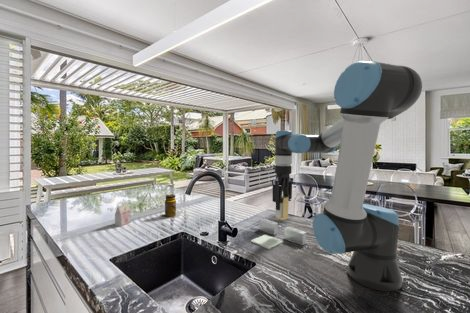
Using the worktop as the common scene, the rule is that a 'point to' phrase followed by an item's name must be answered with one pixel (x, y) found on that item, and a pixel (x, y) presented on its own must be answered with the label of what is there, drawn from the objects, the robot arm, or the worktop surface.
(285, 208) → the brass block
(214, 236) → the worktop surface
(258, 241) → the sage pad
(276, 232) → the rack rail
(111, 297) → the worktop surface
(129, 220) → the milk carton
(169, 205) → the condiment
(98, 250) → the worktop surface
